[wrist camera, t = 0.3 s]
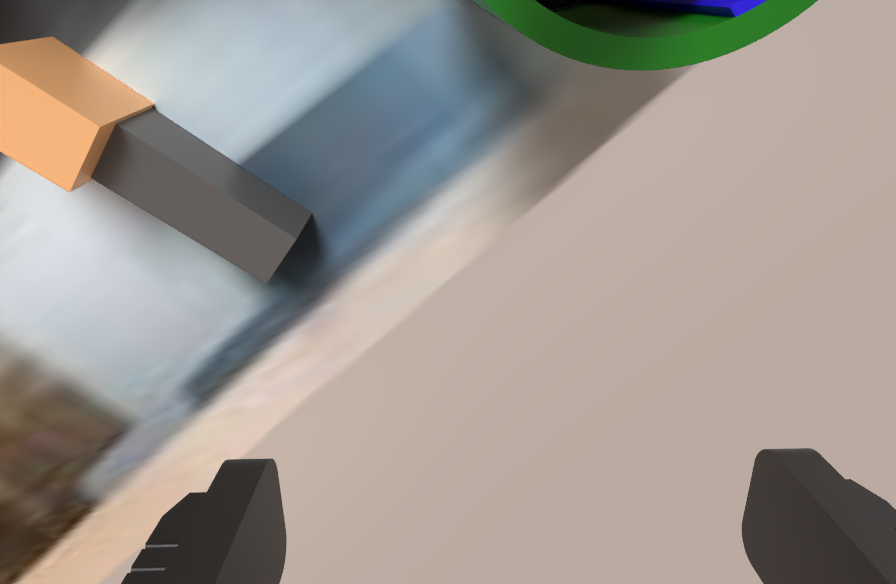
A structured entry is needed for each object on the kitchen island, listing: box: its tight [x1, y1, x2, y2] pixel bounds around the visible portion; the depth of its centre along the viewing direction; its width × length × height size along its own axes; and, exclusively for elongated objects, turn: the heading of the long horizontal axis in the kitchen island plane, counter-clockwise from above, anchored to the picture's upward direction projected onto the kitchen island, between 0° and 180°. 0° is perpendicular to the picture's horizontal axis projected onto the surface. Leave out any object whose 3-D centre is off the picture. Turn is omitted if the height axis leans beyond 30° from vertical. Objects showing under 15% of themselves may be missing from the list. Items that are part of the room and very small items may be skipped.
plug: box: [0, 37, 312, 283], centre depth 28 cm, size 14×4×5 cm, turn 53°
